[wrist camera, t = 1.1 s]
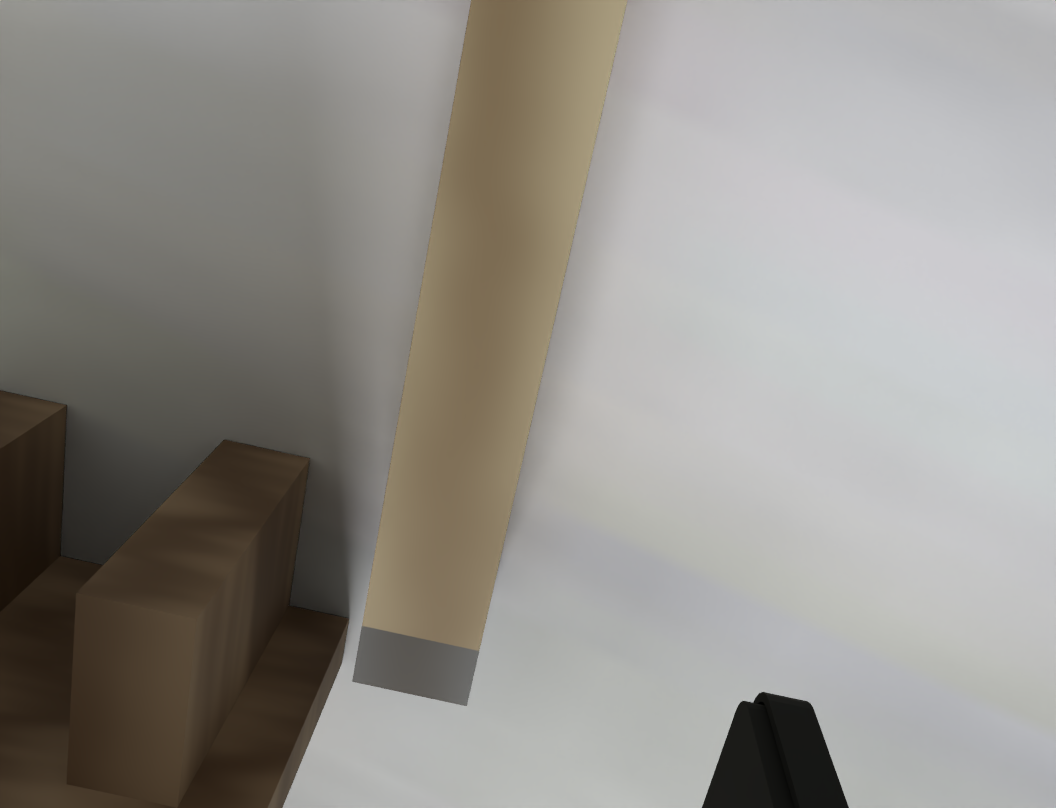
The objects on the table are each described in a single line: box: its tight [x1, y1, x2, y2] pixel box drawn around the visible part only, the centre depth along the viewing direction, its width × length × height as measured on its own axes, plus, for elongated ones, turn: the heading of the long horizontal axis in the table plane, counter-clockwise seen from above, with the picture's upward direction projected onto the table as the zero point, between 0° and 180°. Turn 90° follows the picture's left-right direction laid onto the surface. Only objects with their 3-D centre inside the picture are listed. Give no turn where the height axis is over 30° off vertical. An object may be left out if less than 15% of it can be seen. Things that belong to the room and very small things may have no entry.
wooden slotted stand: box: [0, 391, 349, 808], centre depth 26 cm, size 16×8×16 cm, turn 78°
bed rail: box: [352, 0, 627, 706], centre depth 27 cm, size 4×22×6 cm, turn 168°
